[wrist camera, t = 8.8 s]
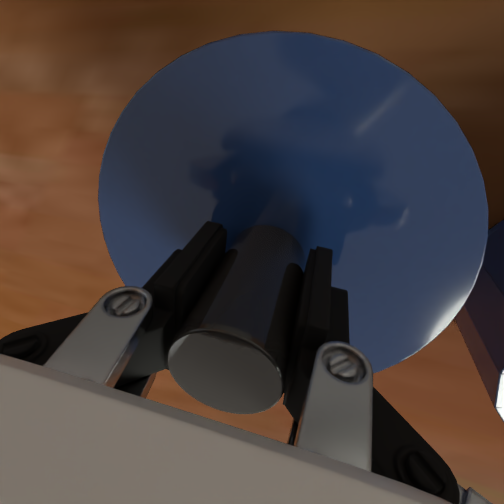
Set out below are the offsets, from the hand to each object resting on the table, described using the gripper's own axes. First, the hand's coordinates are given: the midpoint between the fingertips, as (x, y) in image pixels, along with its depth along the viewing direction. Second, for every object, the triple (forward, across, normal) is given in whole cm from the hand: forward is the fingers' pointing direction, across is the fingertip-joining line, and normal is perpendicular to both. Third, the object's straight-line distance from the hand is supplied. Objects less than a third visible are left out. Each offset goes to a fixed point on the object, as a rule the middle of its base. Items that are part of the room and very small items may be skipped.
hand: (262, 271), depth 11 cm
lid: (+2, 0, 0) cm, 2 cm away
